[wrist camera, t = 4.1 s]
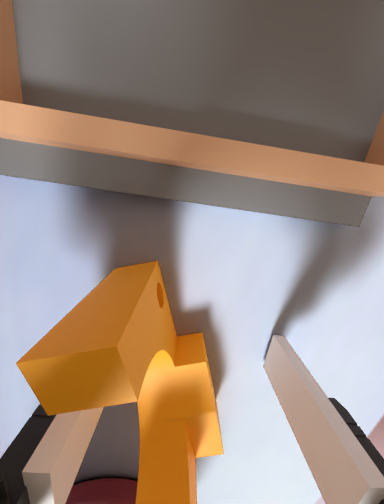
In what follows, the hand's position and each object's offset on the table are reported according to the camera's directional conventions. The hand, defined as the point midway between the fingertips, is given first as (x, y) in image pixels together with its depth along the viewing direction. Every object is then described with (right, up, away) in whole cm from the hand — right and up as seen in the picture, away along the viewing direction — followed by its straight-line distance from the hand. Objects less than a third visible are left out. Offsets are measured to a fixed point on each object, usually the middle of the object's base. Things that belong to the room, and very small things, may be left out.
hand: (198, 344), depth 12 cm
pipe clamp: (-2, 0, +1) cm, 2 cm away
